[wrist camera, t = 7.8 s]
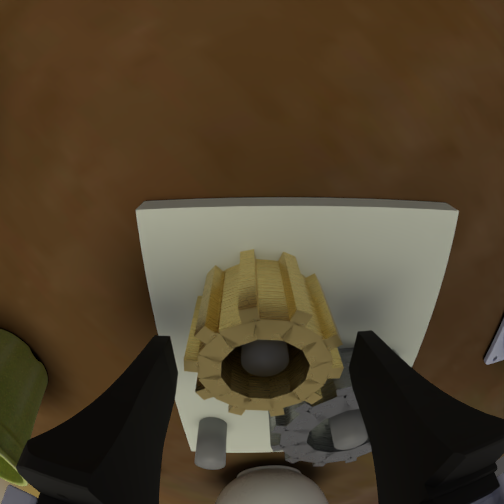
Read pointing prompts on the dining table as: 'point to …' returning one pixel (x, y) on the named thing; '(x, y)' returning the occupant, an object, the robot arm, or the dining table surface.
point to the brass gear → (262, 334)
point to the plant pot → (17, 401)
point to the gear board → (309, 261)
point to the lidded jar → (271, 487)
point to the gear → (317, 423)
